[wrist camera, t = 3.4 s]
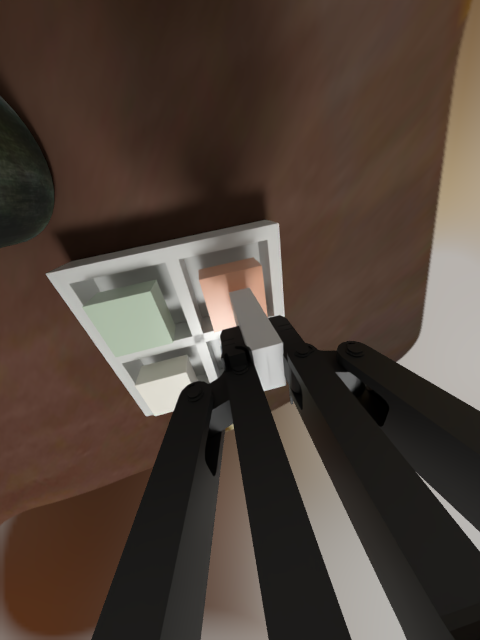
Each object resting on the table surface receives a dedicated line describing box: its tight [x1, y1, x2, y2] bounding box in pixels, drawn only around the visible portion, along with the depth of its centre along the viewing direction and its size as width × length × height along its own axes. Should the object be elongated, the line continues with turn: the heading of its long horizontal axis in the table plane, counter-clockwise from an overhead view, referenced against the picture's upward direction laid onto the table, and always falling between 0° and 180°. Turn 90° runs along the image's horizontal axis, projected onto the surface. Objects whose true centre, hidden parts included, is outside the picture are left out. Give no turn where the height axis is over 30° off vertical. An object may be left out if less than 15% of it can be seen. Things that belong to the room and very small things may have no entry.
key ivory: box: [135, 355, 198, 416], centre depth 20 cm, size 5×5×3 cm
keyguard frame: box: [46, 220, 285, 416], centre depth 21 cm, size 17×17×3 cm
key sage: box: [82, 280, 176, 357], centre depth 16 cm, size 5×5×3 cm
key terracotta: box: [198, 257, 268, 333], centre depth 17 cm, size 5×5×3 cm
